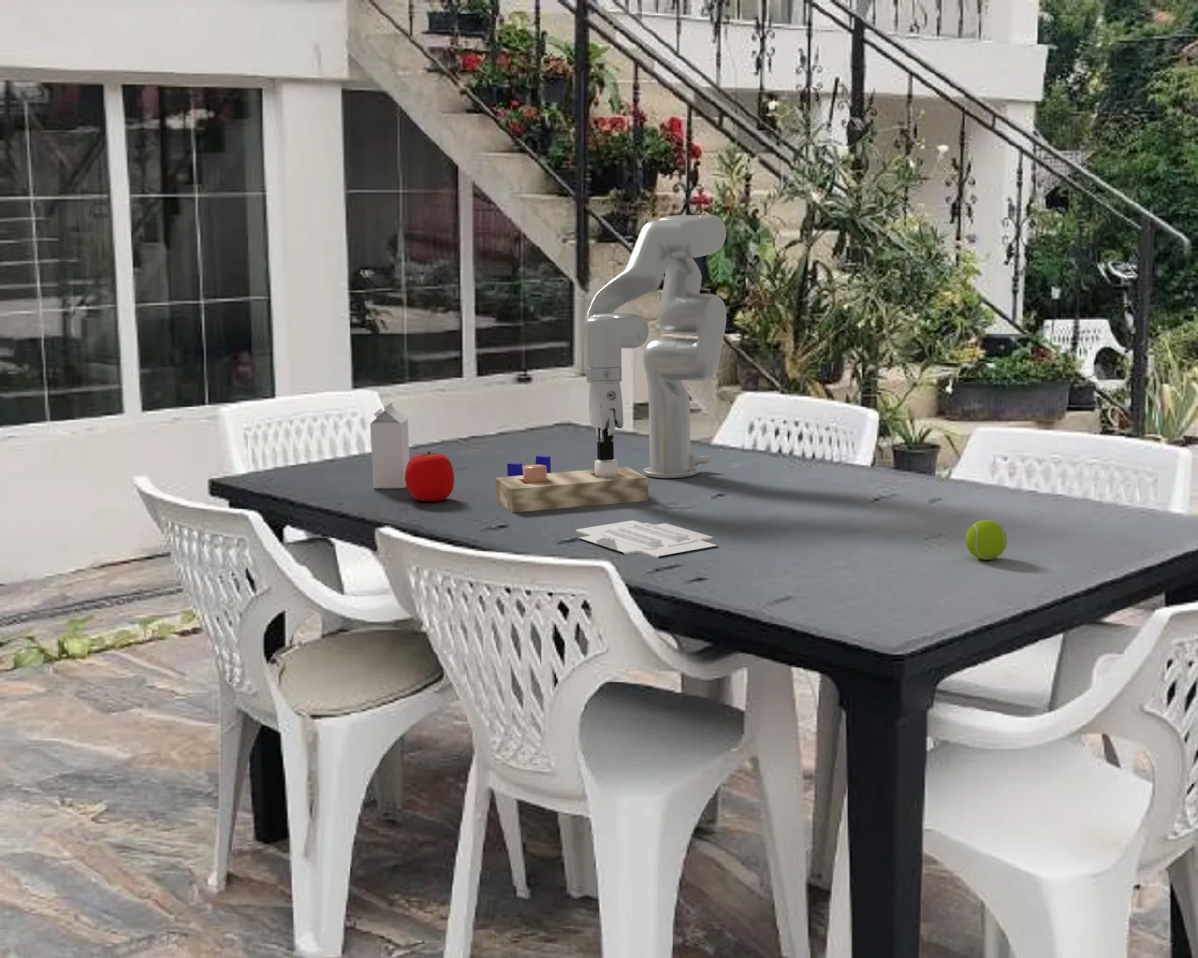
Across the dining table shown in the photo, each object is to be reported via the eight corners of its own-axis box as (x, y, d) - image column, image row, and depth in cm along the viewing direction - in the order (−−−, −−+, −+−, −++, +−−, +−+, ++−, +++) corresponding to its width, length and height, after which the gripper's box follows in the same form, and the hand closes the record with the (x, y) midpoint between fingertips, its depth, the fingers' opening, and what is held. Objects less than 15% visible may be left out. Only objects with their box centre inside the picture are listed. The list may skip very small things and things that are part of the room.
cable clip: (535, 480, 352) (534, 454, 351) (551, 482, 350) (550, 456, 349) (502, 489, 343) (502, 462, 342) (518, 490, 340) (517, 464, 339)
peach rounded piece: (543, 485, 327) (542, 463, 326) (549, 489, 323) (549, 467, 322) (521, 487, 326) (520, 465, 325) (527, 491, 321) (526, 469, 320)
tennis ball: (999, 554, 271) (1000, 515, 270) (1011, 563, 264) (1012, 524, 263) (960, 555, 271) (961, 516, 270) (971, 564, 264) (972, 525, 263)
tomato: (447, 505, 325) (445, 456, 323) (400, 504, 327) (397, 455, 325) (461, 496, 335) (459, 447, 333) (415, 495, 337) (413, 447, 335)
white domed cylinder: (614, 479, 332) (613, 458, 331) (621, 483, 327) (620, 461, 326) (592, 481, 331) (591, 460, 330) (599, 485, 326) (598, 463, 325)
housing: (627, 489, 338) (626, 466, 337) (648, 500, 325) (648, 477, 324) (496, 500, 329) (495, 477, 328) (512, 512, 316) (511, 489, 315)
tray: (646, 522, 306) (646, 504, 306) (733, 553, 284) (733, 533, 283) (560, 537, 295) (560, 518, 295) (643, 570, 273) (643, 550, 272)
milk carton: (410, 483, 351) (407, 401, 348) (404, 489, 345) (400, 405, 341) (380, 483, 352) (376, 401, 349) (373, 489, 345) (368, 406, 342)
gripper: (632, 377, 319) (633, 464, 322) (609, 370, 333) (611, 453, 336) (597, 379, 316) (599, 466, 320) (577, 372, 330) (578, 455, 334)
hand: (605, 459), depth 328 cm, fingers closed
